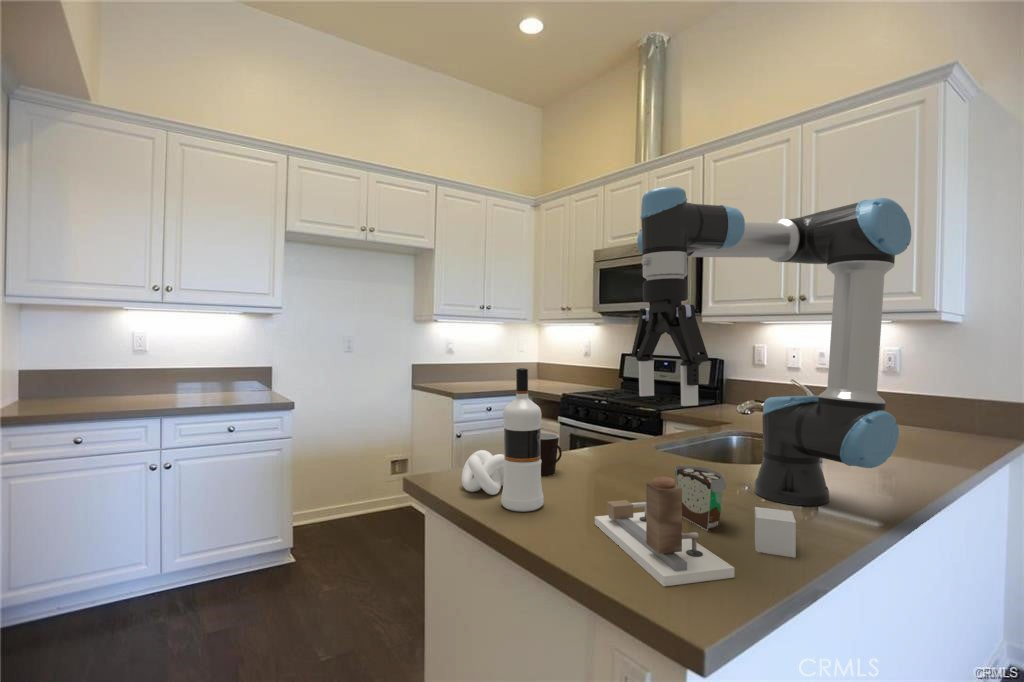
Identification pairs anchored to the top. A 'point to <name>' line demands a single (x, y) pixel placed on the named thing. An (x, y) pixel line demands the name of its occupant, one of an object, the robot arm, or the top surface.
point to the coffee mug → (549, 453)
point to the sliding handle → (665, 517)
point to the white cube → (775, 532)
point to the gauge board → (663, 567)
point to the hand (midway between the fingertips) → (666, 400)
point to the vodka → (522, 450)
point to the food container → (701, 495)
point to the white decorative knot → (483, 472)
